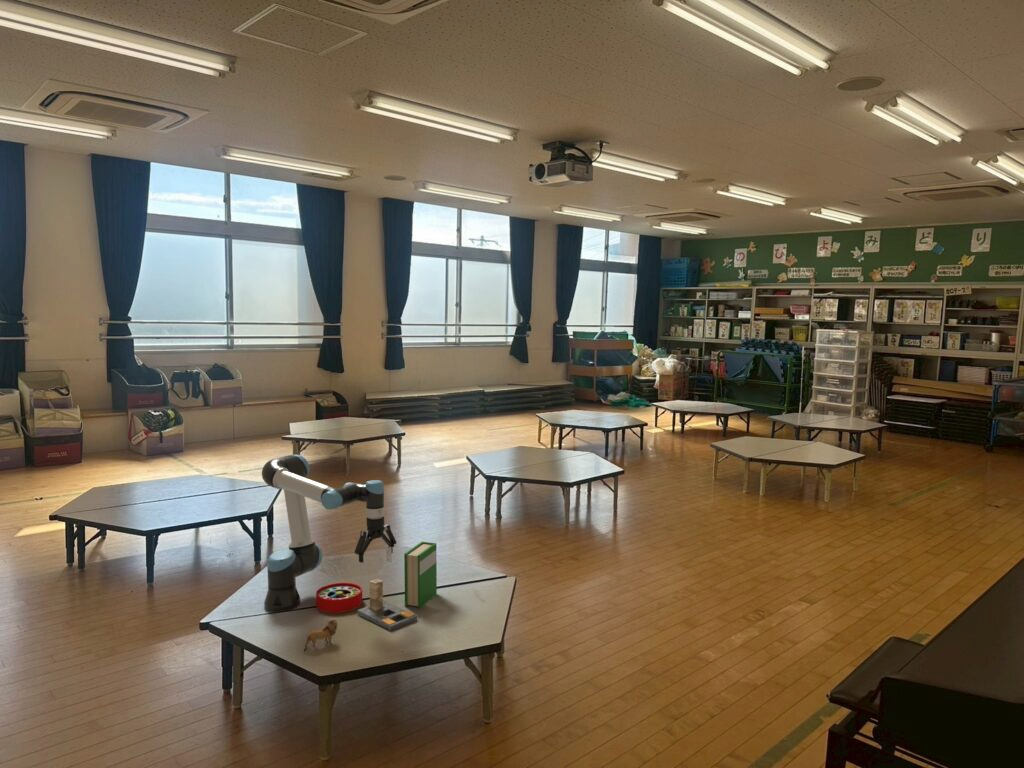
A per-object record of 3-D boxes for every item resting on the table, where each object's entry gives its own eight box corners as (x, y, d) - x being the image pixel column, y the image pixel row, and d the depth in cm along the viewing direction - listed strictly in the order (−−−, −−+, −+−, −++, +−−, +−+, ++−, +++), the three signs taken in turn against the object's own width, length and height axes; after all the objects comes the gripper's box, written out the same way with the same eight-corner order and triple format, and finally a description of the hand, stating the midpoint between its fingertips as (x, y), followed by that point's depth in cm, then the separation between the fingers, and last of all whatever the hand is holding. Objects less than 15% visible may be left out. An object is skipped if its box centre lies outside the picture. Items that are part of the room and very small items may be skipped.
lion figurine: (333, 637, 275) (332, 615, 274) (340, 641, 271) (340, 619, 270) (300, 650, 264) (299, 627, 263) (307, 655, 260) (307, 632, 260)
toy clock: (371, 587, 312) (341, 603, 294) (371, 600, 312) (341, 616, 295) (337, 579, 321) (306, 594, 304) (337, 591, 322) (306, 607, 304)
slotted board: (390, 631, 281) (390, 625, 280) (357, 614, 296) (357, 609, 296) (417, 620, 291) (417, 615, 291) (384, 604, 306) (383, 599, 306)
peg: (375, 615, 296) (375, 583, 295) (369, 612, 299) (369, 581, 297) (383, 612, 299) (382, 581, 298) (377, 609, 301) (377, 578, 300)
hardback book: (419, 608, 303) (419, 555, 301) (404, 606, 305) (404, 553, 303) (436, 593, 320) (436, 543, 317) (422, 591, 322) (421, 541, 320)
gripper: (355, 524, 283) (356, 574, 285) (404, 512, 301) (404, 559, 303) (345, 521, 288) (346, 570, 290) (393, 509, 307) (394, 555, 308)
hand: (376, 565), depth 297 cm, fingers open, 13 cm apart
